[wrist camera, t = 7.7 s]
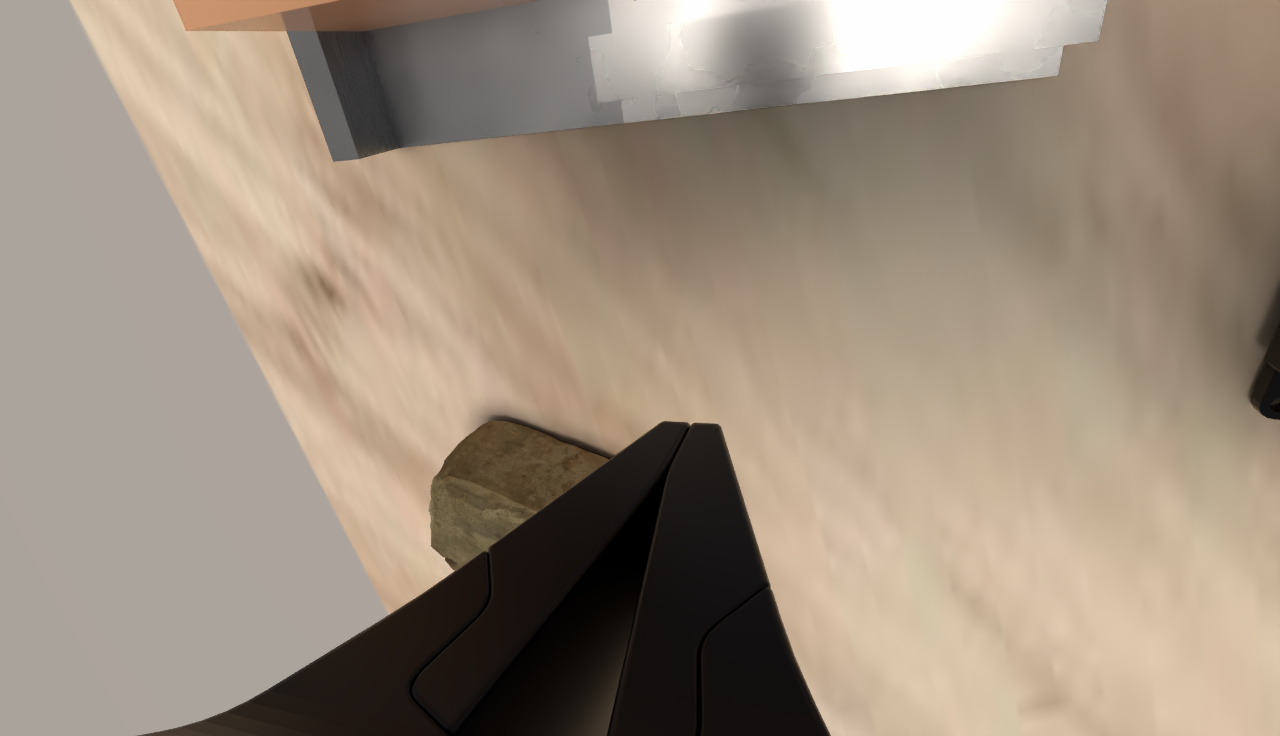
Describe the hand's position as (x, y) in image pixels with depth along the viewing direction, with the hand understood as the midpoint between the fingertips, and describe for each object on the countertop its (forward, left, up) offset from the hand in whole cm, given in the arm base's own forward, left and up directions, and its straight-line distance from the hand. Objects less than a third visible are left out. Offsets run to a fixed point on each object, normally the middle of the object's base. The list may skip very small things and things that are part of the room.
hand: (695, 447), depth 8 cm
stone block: (+8, +12, -12) cm, 19 cm away
